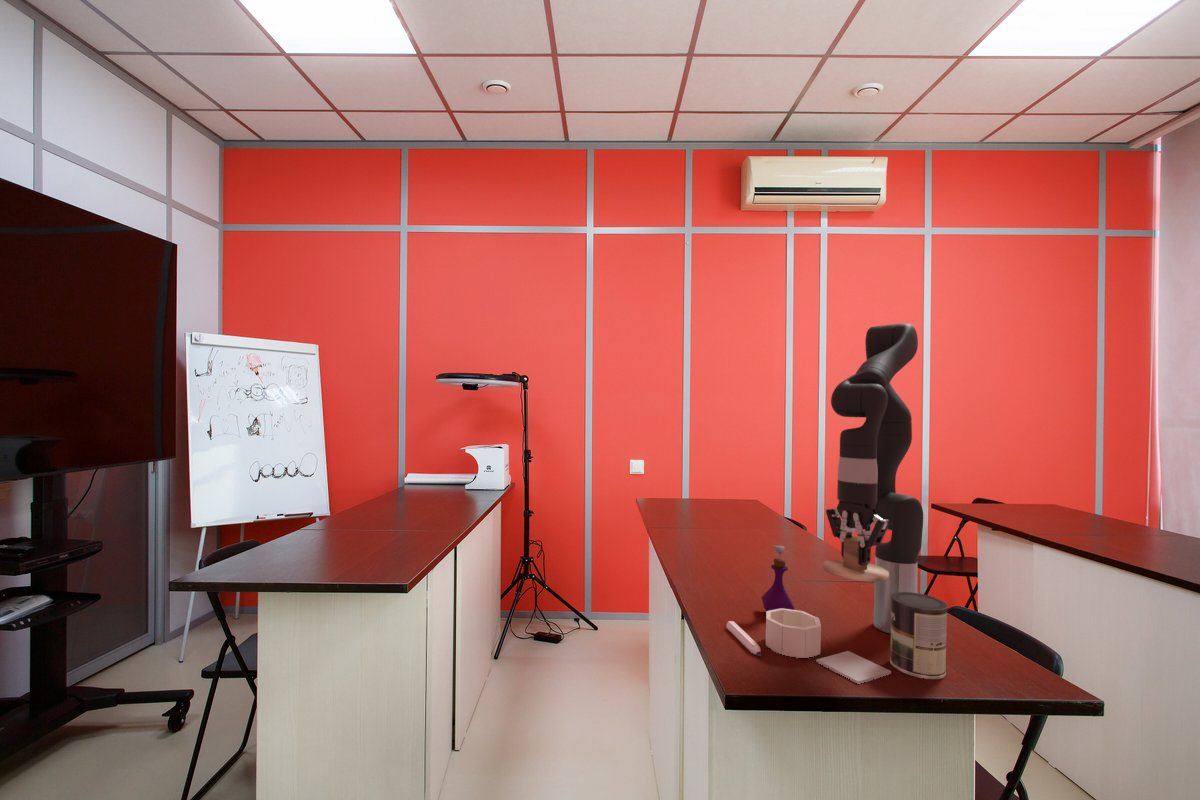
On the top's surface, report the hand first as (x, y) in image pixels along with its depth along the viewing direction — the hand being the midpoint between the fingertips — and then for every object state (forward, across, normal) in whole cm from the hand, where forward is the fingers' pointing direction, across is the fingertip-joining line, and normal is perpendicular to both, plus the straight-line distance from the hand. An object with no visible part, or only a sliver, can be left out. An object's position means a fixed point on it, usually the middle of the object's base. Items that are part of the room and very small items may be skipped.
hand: (855, 561), depth 112 cm
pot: (+22, +12, +4) cm, 26 cm away
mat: (+22, 0, 0) cm, 22 cm away
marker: (+23, +18, +12) cm, 32 cm away
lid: (+2, 0, 0) cm, 2 cm away
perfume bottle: (+22, +28, -7) cm, 36 cm away
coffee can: (+22, -6, -13) cm, 26 cm away
